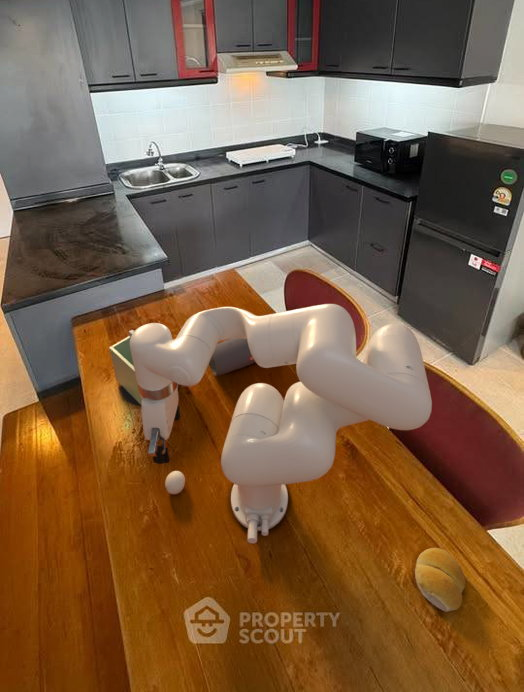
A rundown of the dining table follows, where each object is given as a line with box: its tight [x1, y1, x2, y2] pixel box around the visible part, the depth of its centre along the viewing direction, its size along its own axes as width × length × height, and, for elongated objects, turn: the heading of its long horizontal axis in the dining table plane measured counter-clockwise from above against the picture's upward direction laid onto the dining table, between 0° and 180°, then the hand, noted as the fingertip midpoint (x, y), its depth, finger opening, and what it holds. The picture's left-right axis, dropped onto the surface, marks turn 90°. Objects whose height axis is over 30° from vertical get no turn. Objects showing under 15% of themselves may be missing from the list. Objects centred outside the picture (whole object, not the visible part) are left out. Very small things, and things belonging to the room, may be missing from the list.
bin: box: [108, 329, 175, 405], centre depth 110 cm, size 14×14×14 cm
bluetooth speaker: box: [208, 338, 256, 377], centre depth 118 cm, size 23×9×10 cm, turn 118°
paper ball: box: [164, 470, 186, 495], centre depth 85 cm, size 4×4×4 cm
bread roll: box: [414, 547, 466, 613], centre depth 71 cm, size 8×9×4 cm
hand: (167, 439), depth 82 cm, fingers open, 9 cm apart
